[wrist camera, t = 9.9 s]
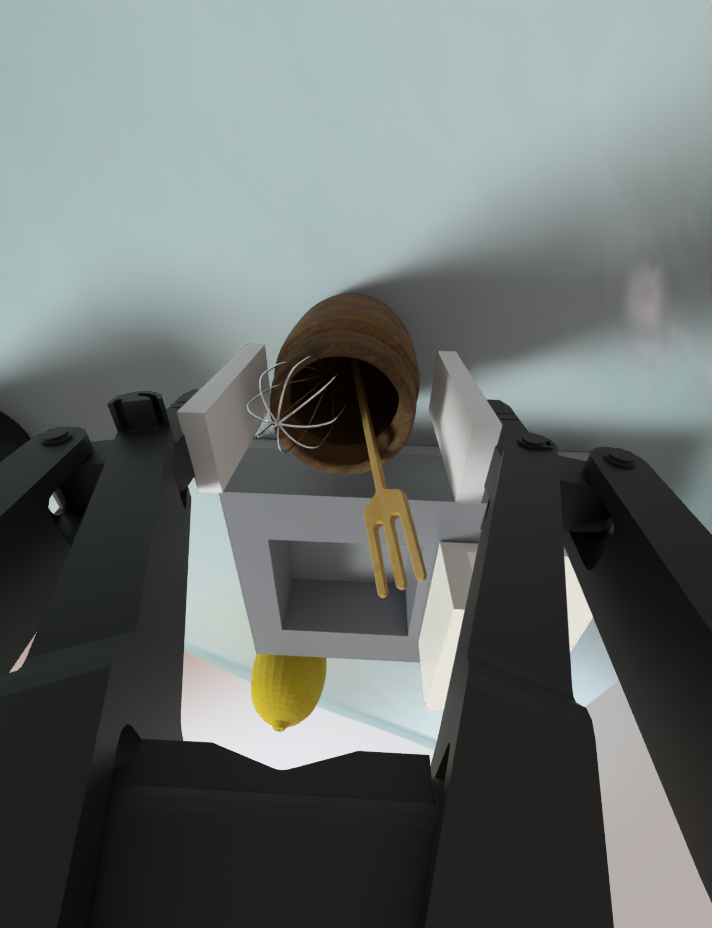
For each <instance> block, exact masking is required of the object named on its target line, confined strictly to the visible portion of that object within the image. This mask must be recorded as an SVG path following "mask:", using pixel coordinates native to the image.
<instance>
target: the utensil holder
mask: <svg viewBox="0 0 712 928" xmlns="http://www.w3.org/2000/svg"><path fill="white" fill-rule="evenodd" d="M273 368H275V373H274V380H273V383H272V387H271V388H269V389H267V390H265V391H263V392H262V390H261V379H262V377H263V375H264V374H266V373H267V372H268V371H270V370H271V369H273ZM270 389H271V395H270V410H269V408H268V407H267V405H266V402H265V400H264V398H263V395H262V394H263V393H265V392H267V391H268V390H270ZM259 390H260V394H259V395H257V396H256V397H255V398H253V399H252V400H251V401H250V402H248V404H247V411H248V412H249V413H250V414H251V415H252V416H254V417H255V418H257V419H259V420H262V421H265V422H268V423H271V424H270V425H268V426H267V427H266V428H265V429H264V430H263V431H262V432H261V433H260V434H258V436H257V438H259V437H261V436H263V435H264V434H266V433H267V432H269V431H270V430H272V429H273V428H274V429H275V431H276V434H277V444H278V448H279V450H280V451H281V452H282V453H288V452H290V453H291V454H292V455H293V456H295V457H296V458H297V459H298V460H300V461H301V462H303V463H304V464H306V465H308V466H310V467H312V468H314V469H317V470H320V471H323V472H327V473H331V474H340V475H350V474H359V473H364V472H367V471H370V470H372V473H373V478H374V483H375V488H376V492H375V495H374V497H373V498H372V499H371V500H370V502H369V503H368V504H367V506H366V507H365V509H364V512H363V513H364V519H365V525H366V531H367V536H368V542H369V548H370V553H371V559H372V564H373V570H374V576H375V581H376V587H377V593H378V596H380V597H381V598H385V597H387V595H388V586H387V580H386V574H385V568H384V562H383V556H382V550H381V544H380V538H379V532H378V530H379V528H380V527H381V526H383V527H384V531H385V536H386V541H387V545H388V550H389V555H390V559H391V564H392V568H393V573H394V578H395V582H396V587H397V588H398V589H400V590H404V589H406V587H407V579H406V575H405V570H404V565H403V560H402V556H401V551H400V546H399V541H398V537H397V532H396V527H395V520H396V519H397V518H398V517H400V519H401V523H402V527H403V530H404V534H405V538H406V542H407V546H408V550H409V554H410V557H411V561H412V565H413V569H414V573H415V577H416V579H417V580H418V581H420V582H423V581H425V580H426V578H427V573H426V569H425V565H424V561H423V557H422V553H421V549H420V545H419V541H418V537H417V534H416V530H415V526H414V522H413V518H412V514H411V510H410V506H409V503H408V499H407V495H406V494H405V493H404V492H403V491H402V490H401V489H387V486H386V482H385V478H384V473H383V469H382V465H383V464H385V463H386V462H388V461H389V460H390V459H392V458H393V457H394V456H395V455H396V454H397V453H398V452H399V451H400V450H401V449H402V447H403V446H404V444H405V443H406V441H407V439H408V437H409V435H410V433H411V430H412V427H413V423H414V419H415V414H416V402H417V398H418V393H419V370H418V364H417V360H416V356H415V352H414V349H413V346H412V343H411V340H410V337H409V335H408V332H407V330H406V328H405V327H404V325H403V323H402V322H401V320H400V319H399V318H398V316H397V315H396V314H395V313H394V312H393V311H392V310H391V309H390V308H388V307H387V306H386V305H384V304H383V303H381V302H379V301H378V300H376V299H373V298H371V297H368V296H364V295H359V294H343V295H337V296H333V297H330V298H328V299H325V300H323V301H321V302H319V303H318V304H316V305H315V306H314V307H312V308H311V309H310V310H309V311H308V312H307V313H306V314H305V315H304V316H303V317H302V318H301V319H300V321H299V322H298V323H297V324H296V326H295V327H294V328H293V330H292V331H291V333H290V334H289V336H288V337H287V339H286V340H285V342H284V344H283V346H282V348H281V350H280V353H279V355H278V358H277V362H276V365H274V366H273V367H271V368H270V369H268V370H266V371H265V372H264V373H263V374H262V375H261V376H260V379H259ZM260 395H261V398H262V401H263V403H264V405H265V407H266V409H267V411H268V412H269V414H270V415H271V419H272V421H268V420H265V419H262V418H260V417H258V416H256V415H254V414H253V413H251V412H250V410H249V404H250V403H251V402H252V401H253V400H255V399H256V398H258V397H259V396H260ZM272 424H273V426H272V427H271V428H270V429H268V428H269V427H270V426H271V425H272ZM266 429H268V430H267V431H265V430H266ZM264 431H265V432H264ZM263 432H264V433H263ZM279 439H280V441H281V442H282V443H283V445H284V446H285V447H286V449H287V450H288V451H286V452H284V451H282V450H281V448H280V444H279Z"/></svg>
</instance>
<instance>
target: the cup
mask: <svg viewBox="0 0 712 928" xmlns="http://www.w3.org/2000/svg"><path fill="white" fill-rule="evenodd" d="M30 439H31V438H30V437H29V436H28V434H27V433H26V432H25V431H24V430H23V429H22V428H21V427H20V426H19V425H18V424H17V423H16V422H15V421H13V420H12V419H11V418H9V417H8V416H7V415H5V414H3V413H2V412H0V462H1V461H3V460H4V459H5V458H7V457H8V456H9V455H11V454H12V453H13V452H14V451H16V450H17V449H18V448H20V447H21V446H22V445H24V444H25V443H26V442H27V441H29V440H30Z"/></svg>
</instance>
